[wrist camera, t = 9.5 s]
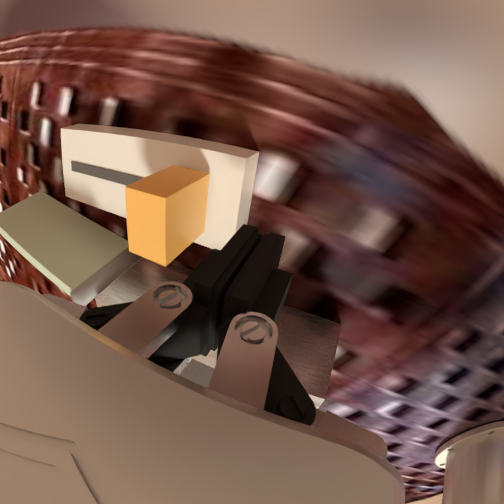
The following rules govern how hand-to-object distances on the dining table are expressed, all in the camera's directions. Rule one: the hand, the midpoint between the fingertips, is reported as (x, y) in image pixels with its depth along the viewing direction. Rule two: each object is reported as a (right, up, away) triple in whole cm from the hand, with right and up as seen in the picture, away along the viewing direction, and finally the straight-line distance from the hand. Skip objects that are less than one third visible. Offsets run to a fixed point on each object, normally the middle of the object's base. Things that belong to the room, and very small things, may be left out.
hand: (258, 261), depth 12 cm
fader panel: (-8, +6, +8) cm, 12 cm away
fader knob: (-4, +3, +5) cm, 7 cm away
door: (-16, +3, +12) cm, 21 cm away
